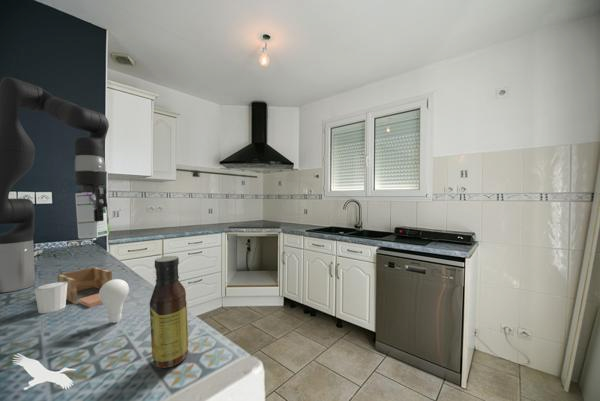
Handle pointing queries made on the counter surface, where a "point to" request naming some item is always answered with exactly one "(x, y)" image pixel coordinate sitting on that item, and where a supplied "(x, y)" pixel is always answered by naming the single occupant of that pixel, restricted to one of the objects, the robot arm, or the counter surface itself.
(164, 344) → the sauce bottle
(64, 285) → the white short cylinder
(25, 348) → the counter surface
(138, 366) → the counter surface
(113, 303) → the lightbulb
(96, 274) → the wooden box
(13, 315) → the counter surface
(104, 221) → the syrup box
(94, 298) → the tile pad
